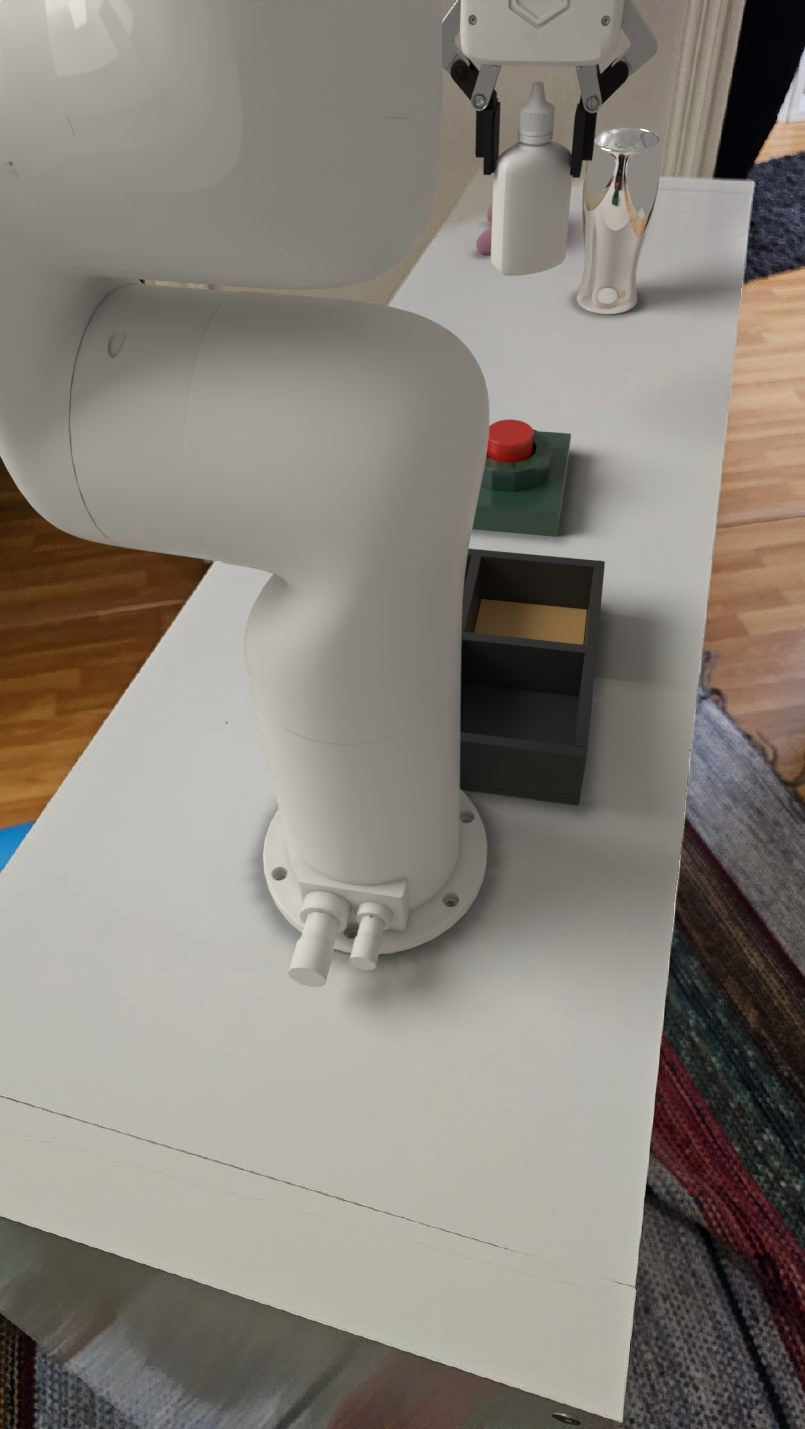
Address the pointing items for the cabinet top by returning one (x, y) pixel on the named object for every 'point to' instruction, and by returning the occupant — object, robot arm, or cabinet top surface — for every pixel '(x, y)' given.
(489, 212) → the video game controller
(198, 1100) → the cabinet top surface
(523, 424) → the button
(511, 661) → the tray
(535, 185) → the eye dropper bottle
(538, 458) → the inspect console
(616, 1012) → the cabinet top surface
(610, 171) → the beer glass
